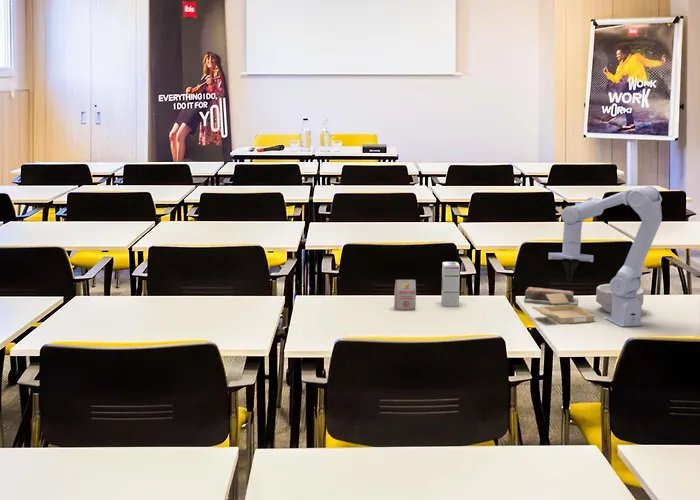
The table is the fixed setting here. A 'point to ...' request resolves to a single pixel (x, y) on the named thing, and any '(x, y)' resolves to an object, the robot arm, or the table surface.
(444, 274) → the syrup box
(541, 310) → the left flap
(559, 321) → the carton
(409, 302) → the white food box
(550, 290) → the packaged product
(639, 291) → the paper bowls
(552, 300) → the far flap
